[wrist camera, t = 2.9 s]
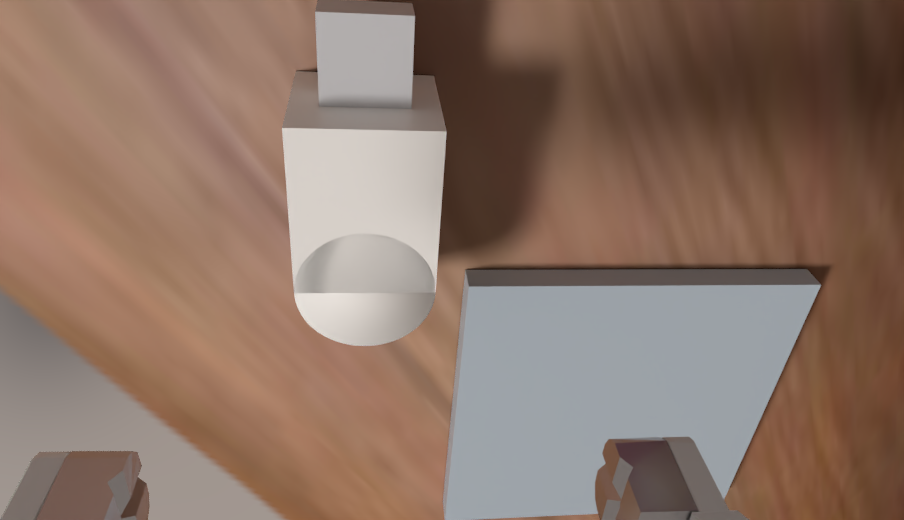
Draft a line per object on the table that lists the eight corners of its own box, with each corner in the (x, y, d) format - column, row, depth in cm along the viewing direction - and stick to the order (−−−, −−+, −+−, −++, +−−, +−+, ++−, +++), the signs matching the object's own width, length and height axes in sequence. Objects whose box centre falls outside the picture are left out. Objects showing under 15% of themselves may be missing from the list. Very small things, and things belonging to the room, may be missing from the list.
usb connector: (290, -17, 19) (274, 27, 16) (438, -9, 19) (453, 34, 16) (307, 269, 24) (298, 347, 21) (422, 269, 25) (431, 344, 21)
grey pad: (465, 269, 25) (468, 286, 24) (807, 269, 26) (821, 284, 25) (442, 501, 32) (445, 520, 31) (711, 490, 34) (719, 507, 33)
